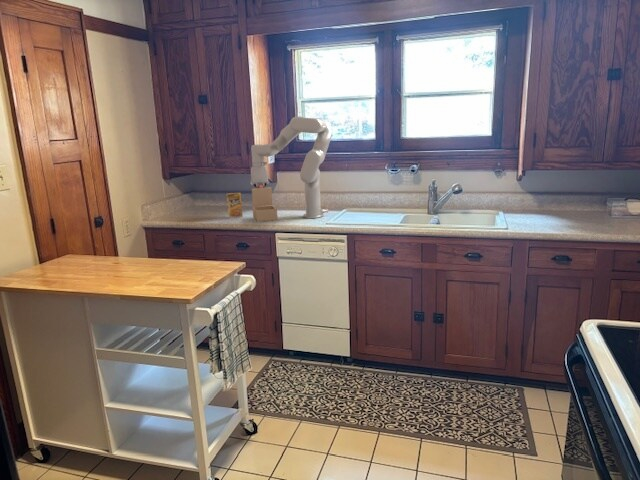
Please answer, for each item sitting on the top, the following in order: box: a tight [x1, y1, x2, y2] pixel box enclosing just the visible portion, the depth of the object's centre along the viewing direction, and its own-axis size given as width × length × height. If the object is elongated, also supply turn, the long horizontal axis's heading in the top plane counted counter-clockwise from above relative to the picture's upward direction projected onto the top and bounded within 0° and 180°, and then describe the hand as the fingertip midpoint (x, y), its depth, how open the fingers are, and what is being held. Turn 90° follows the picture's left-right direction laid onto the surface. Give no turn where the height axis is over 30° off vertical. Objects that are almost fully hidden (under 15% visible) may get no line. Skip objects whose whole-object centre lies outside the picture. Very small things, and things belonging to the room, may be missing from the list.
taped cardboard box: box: [251, 184, 273, 208], centre depth 307 cm, size 12×12×7 cm
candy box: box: [226, 192, 244, 219], centre depth 311 cm, size 9×4×15 cm, turn 107°
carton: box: [252, 205, 278, 223], centre depth 301 cm, size 13×13×7 cm
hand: (260, 193), depth 309 cm, fingers closed on taped cardboard box, 2 cm apart
